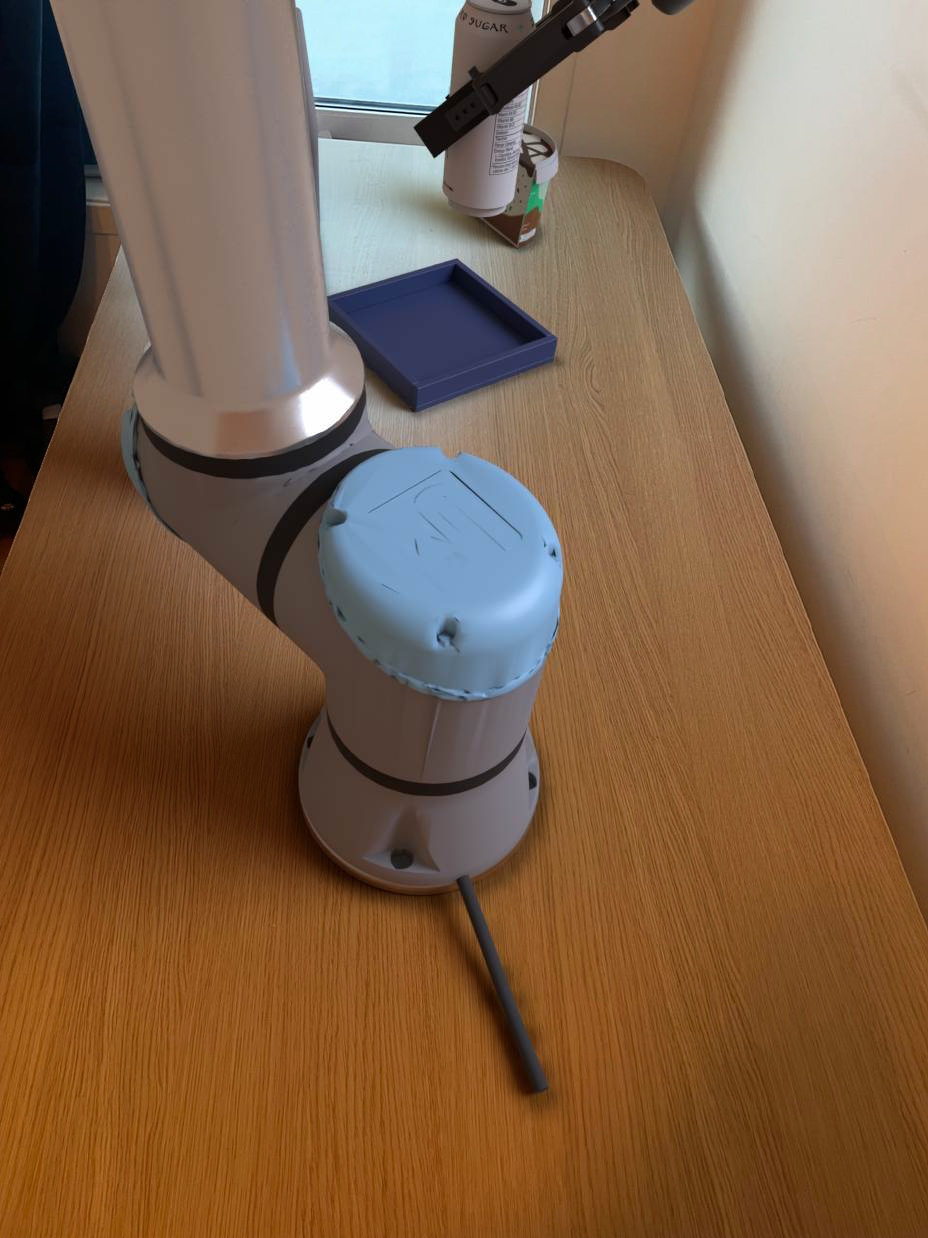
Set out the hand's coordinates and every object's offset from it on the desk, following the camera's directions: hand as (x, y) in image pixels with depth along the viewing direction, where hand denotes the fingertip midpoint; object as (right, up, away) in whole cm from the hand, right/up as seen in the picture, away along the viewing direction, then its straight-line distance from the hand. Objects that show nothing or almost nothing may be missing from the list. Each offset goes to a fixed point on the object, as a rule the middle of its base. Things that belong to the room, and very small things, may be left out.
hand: (441, 125), depth 75 cm
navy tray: (-1, -12, +17) cm, 21 cm away
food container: (+8, +6, +35) cm, 36 cm away
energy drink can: (+3, -5, +4) cm, 7 cm away
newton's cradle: (-20, +3, +28) cm, 35 cm away
